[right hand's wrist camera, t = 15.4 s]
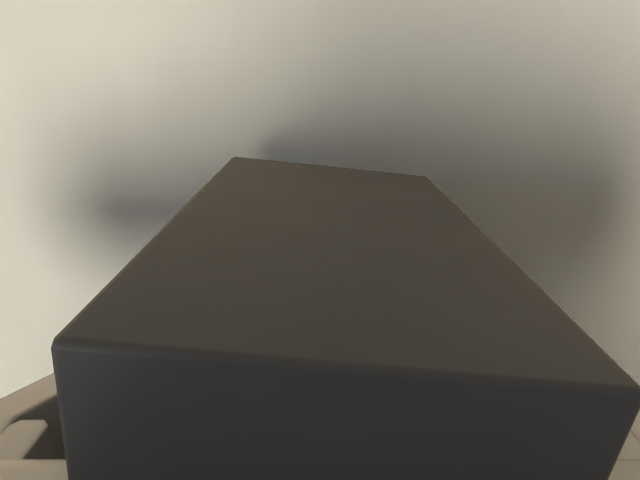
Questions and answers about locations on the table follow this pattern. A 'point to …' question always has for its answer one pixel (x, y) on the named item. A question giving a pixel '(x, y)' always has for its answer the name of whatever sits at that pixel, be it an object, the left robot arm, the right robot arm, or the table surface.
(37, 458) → the right robot arm
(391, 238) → the block
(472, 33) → the table surface
